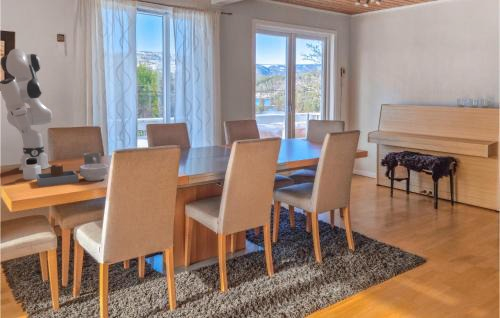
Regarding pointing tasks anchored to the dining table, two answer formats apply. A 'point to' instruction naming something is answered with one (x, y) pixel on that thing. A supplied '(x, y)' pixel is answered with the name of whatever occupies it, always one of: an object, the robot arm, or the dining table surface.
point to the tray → (57, 178)
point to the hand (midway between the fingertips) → (25, 134)
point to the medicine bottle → (31, 168)
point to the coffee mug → (92, 158)
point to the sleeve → (56, 171)
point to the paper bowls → (93, 171)
